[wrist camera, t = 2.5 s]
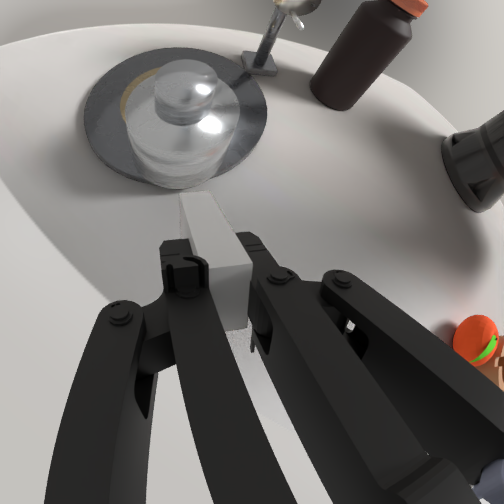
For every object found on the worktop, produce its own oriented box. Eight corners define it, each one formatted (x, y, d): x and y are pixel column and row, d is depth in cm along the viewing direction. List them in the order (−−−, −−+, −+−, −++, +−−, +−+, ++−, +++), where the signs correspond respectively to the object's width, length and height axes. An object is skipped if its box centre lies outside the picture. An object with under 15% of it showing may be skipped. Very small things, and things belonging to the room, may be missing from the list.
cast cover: (219, 110, 27) (240, 45, 19) (231, 185, 26) (260, 125, 17) (132, 114, 25) (128, 46, 16) (131, 193, 23) (115, 131, 15)
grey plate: (248, 56, 33) (250, 50, 31) (280, 180, 29) (285, 174, 27) (99, 61, 27) (98, 54, 26) (77, 196, 23) (73, 190, 22)
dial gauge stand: (272, 59, 34) (314, -27, 19) (286, 98, 32) (343, 3, 18) (237, 55, 32) (272, -38, 18) (247, 95, 31) (294, -12, 16)
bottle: (313, 71, 35) (380, -31, 17) (353, 92, 36) (429, 2, 18) (305, 96, 33) (384, -21, 14) (350, 119, 34) (441, 19, 15)
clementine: (447, 381, 29) (488, 384, 22) (433, 342, 29) (478, 340, 23) (472, 345, 32) (509, 342, 25) (460, 307, 32) (499, 300, 26)
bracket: (457, 394, 29) (494, 397, 23) (464, 338, 32) (501, 335, 25) (502, 380, 33) (530, 379, 27) (506, 337, 35) (535, 333, 29)
